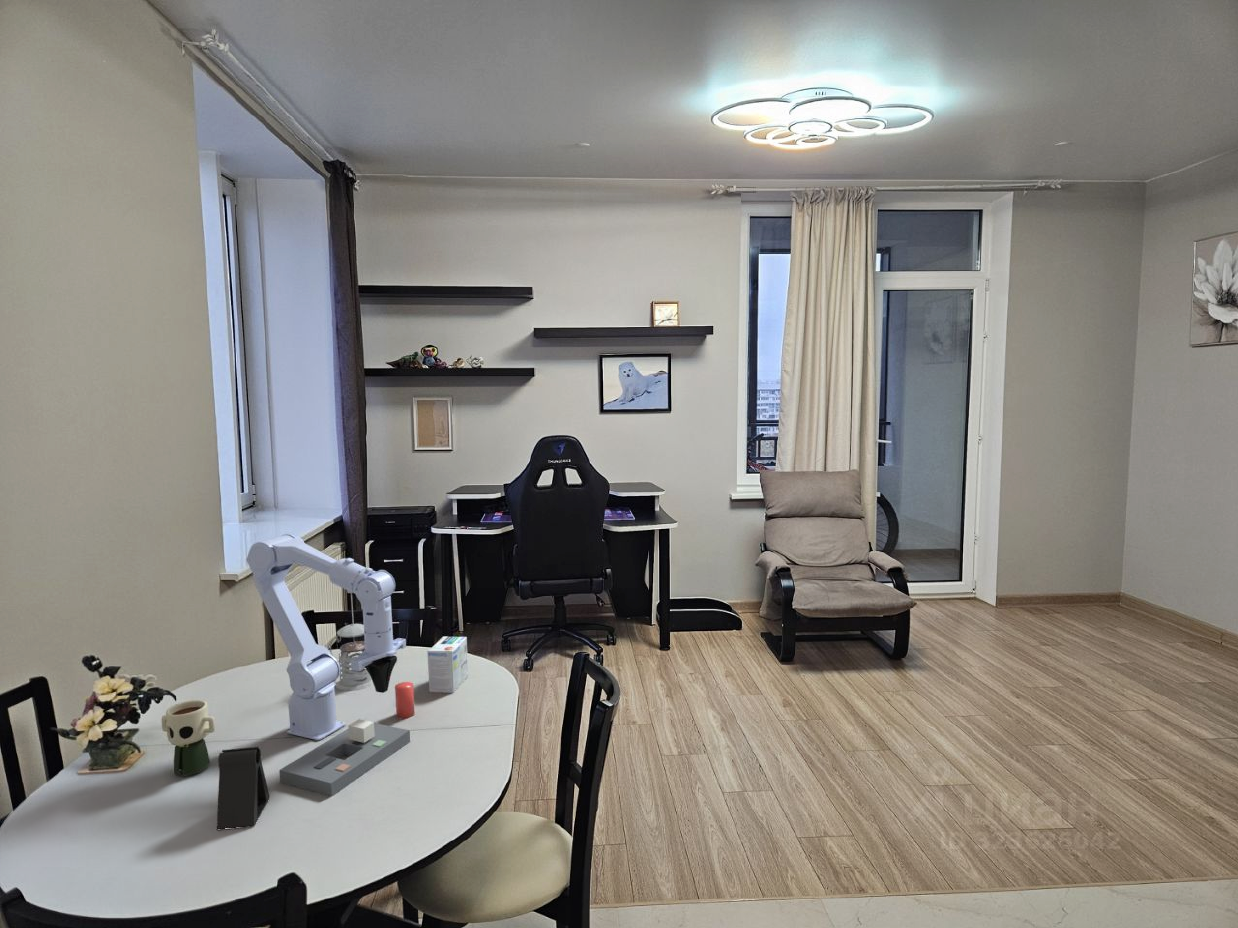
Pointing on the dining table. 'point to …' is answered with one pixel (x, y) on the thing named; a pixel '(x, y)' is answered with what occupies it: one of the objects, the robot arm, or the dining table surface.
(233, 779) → the phone stand
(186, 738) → the character mug
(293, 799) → the dining table surface
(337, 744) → the breaker panel
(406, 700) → the pin
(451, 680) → the light bulb box
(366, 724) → the lever
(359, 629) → the french press
